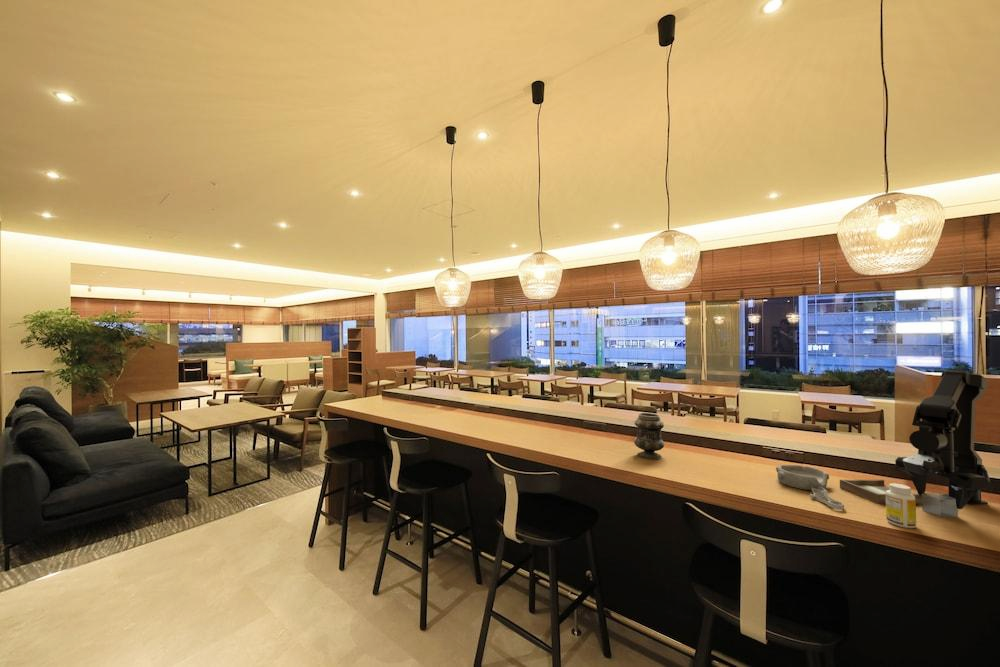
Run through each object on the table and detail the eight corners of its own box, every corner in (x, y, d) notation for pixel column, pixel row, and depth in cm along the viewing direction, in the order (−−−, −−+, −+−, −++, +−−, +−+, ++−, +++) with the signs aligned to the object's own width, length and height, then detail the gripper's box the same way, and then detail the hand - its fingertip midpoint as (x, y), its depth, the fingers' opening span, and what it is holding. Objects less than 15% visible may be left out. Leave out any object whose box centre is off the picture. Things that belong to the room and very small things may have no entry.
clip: (939, 510, 110) (938, 493, 110) (958, 517, 105) (957, 499, 105) (922, 510, 110) (921, 493, 110) (940, 517, 105) (940, 499, 105)
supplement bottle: (912, 523, 102) (912, 485, 102) (919, 531, 97) (918, 491, 97) (883, 517, 105) (883, 480, 105) (888, 525, 100) (888, 486, 101)
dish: (830, 484, 129) (829, 469, 129) (826, 495, 119) (826, 480, 120) (778, 474, 139) (778, 460, 140) (771, 483, 130) (770, 469, 130)
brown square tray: (882, 487, 127) (881, 479, 127) (924, 503, 114) (924, 494, 114) (839, 487, 126) (839, 479, 127) (878, 503, 114) (877, 494, 114)
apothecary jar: (669, 457, 160) (669, 414, 161) (654, 462, 153) (654, 418, 153) (644, 450, 170) (644, 410, 170) (628, 455, 162) (628, 413, 163)
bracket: (838, 489, 120) (844, 505, 108) (838, 496, 120) (845, 512, 108) (808, 484, 125) (811, 498, 113) (808, 490, 125) (811, 505, 113)
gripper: (877, 438, 117) (878, 489, 117) (950, 457, 98) (951, 517, 98) (912, 438, 117) (913, 489, 117) (991, 456, 99) (993, 516, 98)
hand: (939, 501), depth 108 cm, fingers open, 9 cm apart
